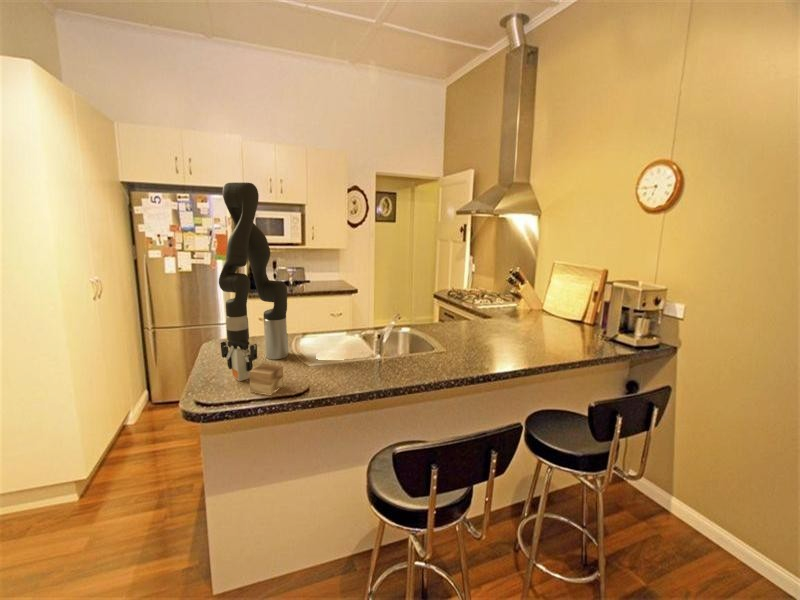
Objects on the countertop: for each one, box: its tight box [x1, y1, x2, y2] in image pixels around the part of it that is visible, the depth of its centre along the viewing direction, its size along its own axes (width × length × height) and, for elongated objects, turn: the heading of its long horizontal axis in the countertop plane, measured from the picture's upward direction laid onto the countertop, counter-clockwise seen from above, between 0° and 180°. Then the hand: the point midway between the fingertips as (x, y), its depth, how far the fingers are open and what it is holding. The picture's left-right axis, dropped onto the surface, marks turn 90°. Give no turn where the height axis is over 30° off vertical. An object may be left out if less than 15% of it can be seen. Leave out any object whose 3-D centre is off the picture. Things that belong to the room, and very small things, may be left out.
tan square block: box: [249, 363, 284, 385], centre depth 139 cm, size 8×8×4 cm
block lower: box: [249, 376, 284, 394], centre depth 140 cm, size 8×8×4 cm
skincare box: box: [231, 348, 250, 382], centre depth 149 cm, size 6×4×12 cm
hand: (240, 369), depth 149 cm, fingers closed on skincare box, 7 cm apart
